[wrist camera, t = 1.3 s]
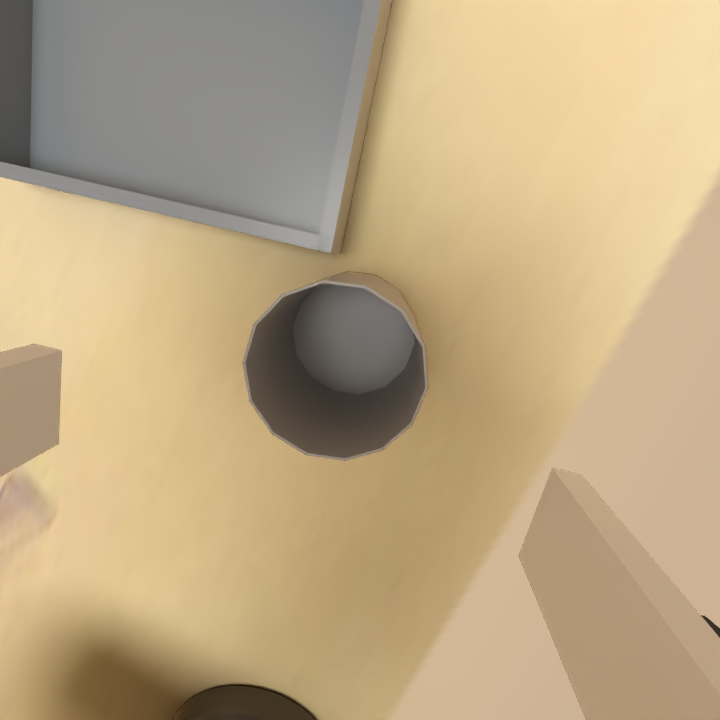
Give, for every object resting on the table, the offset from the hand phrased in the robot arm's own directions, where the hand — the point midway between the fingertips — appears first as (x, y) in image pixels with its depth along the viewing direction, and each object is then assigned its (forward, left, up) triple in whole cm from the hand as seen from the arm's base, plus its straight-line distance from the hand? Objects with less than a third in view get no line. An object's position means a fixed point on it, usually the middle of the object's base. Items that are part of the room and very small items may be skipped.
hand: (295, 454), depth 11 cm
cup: (0, 0, -18) cm, 18 cm away
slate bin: (+12, +13, -18) cm, 25 cm away
